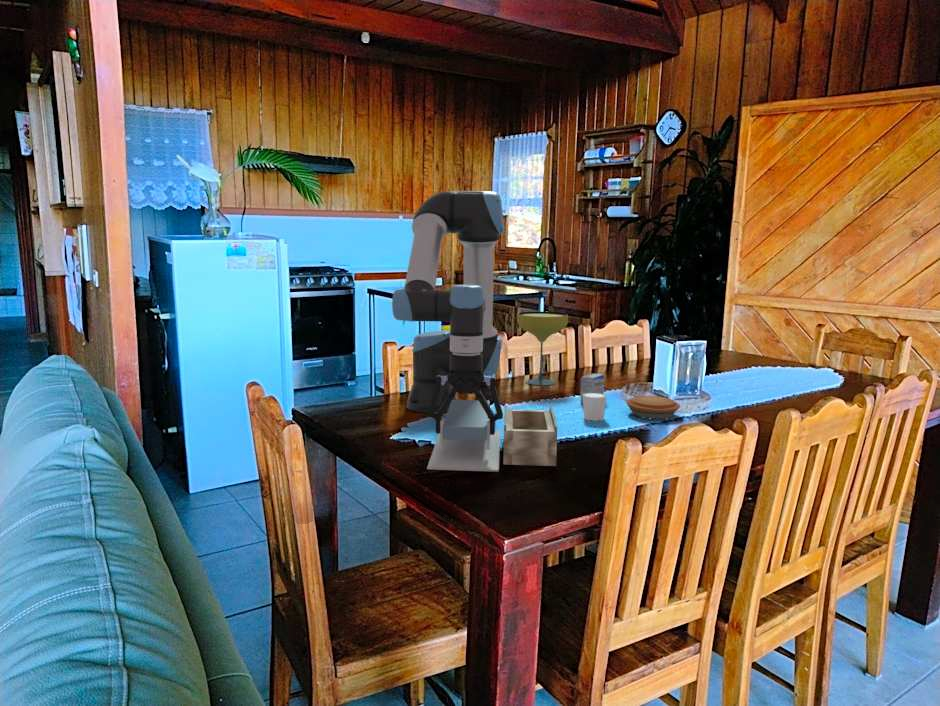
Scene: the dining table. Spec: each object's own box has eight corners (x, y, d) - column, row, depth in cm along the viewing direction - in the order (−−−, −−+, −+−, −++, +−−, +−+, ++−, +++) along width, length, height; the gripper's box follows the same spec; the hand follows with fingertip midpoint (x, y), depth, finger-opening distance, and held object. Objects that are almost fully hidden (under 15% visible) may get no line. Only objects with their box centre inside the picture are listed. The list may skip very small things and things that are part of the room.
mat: (427, 469, 153) (426, 467, 153) (440, 430, 184) (440, 428, 184) (498, 471, 152) (498, 469, 152) (500, 431, 183) (500, 430, 183)
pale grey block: (442, 439, 156) (442, 426, 156) (451, 410, 182) (451, 399, 181) (486, 440, 156) (486, 427, 155) (489, 411, 181) (489, 400, 181)
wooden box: (503, 464, 157) (504, 425, 155) (503, 439, 176) (504, 404, 175) (556, 466, 156) (557, 426, 155) (550, 440, 176) (551, 405, 174)
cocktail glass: (506, 380, 251) (507, 312, 247) (547, 376, 260) (549, 310, 256) (533, 390, 236) (535, 317, 232) (575, 385, 244) (578, 315, 240)
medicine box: (592, 405, 215) (593, 378, 214) (579, 403, 218) (580, 376, 216) (603, 400, 221) (604, 374, 220) (591, 398, 224) (592, 372, 222)
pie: (619, 409, 211) (619, 393, 210) (668, 408, 212) (669, 393, 211) (634, 422, 196) (635, 405, 195) (687, 421, 197) (688, 404, 196)
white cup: (606, 416, 201) (607, 393, 200) (604, 422, 195) (605, 398, 193) (583, 414, 203) (584, 391, 202) (580, 420, 196) (581, 396, 195)
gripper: (414, 354, 153) (414, 450, 157) (516, 356, 152) (513, 453, 155) (419, 349, 160) (419, 441, 164) (515, 351, 159) (513, 443, 163)
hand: (465, 447), depth 160 cm, fingers closed on pale grey block, 10 cm apart
